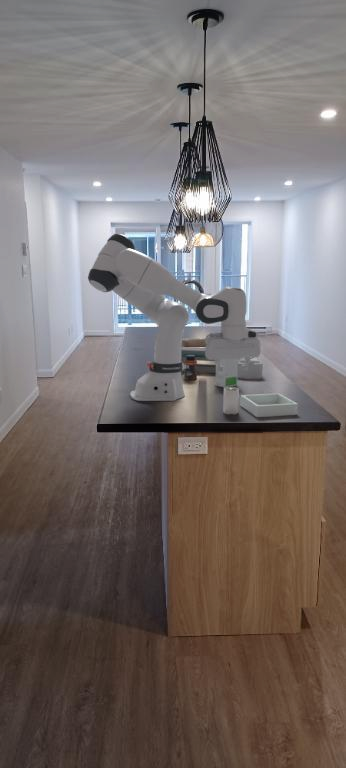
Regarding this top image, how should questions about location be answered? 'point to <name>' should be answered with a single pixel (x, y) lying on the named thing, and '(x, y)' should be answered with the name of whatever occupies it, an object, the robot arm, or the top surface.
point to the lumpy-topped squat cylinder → (250, 369)
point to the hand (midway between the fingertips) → (232, 370)
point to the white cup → (230, 400)
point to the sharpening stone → (199, 356)
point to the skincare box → (227, 373)
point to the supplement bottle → (190, 368)
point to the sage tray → (268, 405)
